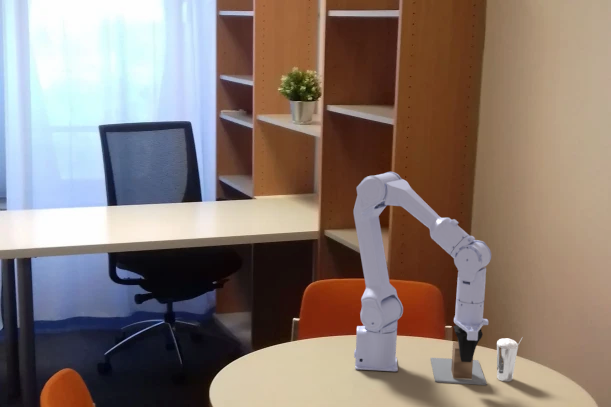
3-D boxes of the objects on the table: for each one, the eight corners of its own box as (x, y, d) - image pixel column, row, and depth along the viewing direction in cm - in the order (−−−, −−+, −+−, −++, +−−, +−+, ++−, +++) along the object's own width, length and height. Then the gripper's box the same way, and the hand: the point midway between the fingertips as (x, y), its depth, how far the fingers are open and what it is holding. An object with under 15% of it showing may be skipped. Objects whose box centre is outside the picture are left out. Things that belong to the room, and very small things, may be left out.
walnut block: (453, 378, 160) (455, 348, 159) (451, 371, 164) (453, 341, 163) (471, 379, 160) (473, 349, 159) (469, 372, 164) (471, 342, 163)
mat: (435, 382, 159) (435, 380, 159) (430, 359, 172) (430, 357, 172) (486, 385, 158) (486, 383, 158) (478, 361, 171) (478, 360, 171)
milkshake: (520, 384, 159) (523, 340, 157) (494, 381, 160) (497, 338, 159) (518, 376, 164) (521, 333, 162) (493, 373, 165) (496, 331, 163)
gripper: (495, 311, 146) (490, 375, 148) (484, 290, 160) (480, 349, 162) (459, 309, 146) (454, 373, 149) (451, 288, 161) (448, 347, 163)
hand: (465, 360), depth 156 cm, fingers closed
